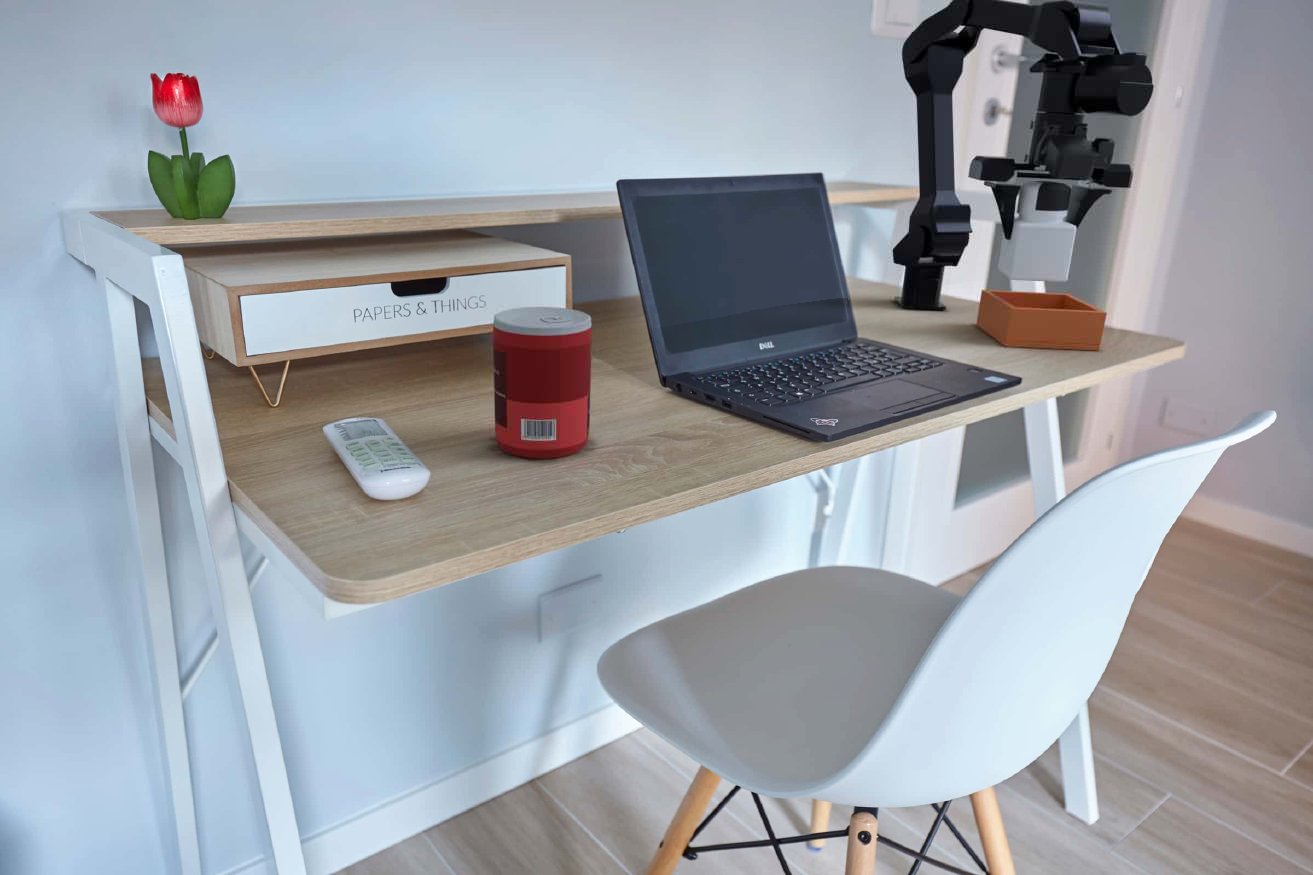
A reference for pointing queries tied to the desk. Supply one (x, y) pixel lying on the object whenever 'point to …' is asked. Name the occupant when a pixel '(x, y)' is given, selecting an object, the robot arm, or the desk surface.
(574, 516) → the desk surface
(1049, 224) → the medicine bottle
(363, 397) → the desk surface
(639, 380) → the desk surface
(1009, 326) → the bin
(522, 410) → the canned food
